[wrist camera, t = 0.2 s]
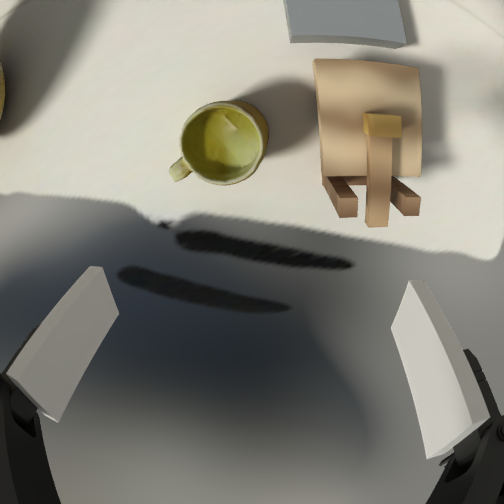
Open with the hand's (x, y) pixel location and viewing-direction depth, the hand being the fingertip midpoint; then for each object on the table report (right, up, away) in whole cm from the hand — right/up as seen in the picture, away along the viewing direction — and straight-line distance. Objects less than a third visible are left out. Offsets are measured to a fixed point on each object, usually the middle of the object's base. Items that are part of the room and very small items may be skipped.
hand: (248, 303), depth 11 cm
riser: (+11, +32, +12) cm, 36 cm away
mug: (-4, +17, +23) cm, 29 cm away
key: (+13, +10, +14) cm, 21 cm away
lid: (+12, +16, +13) cm, 24 cm away
